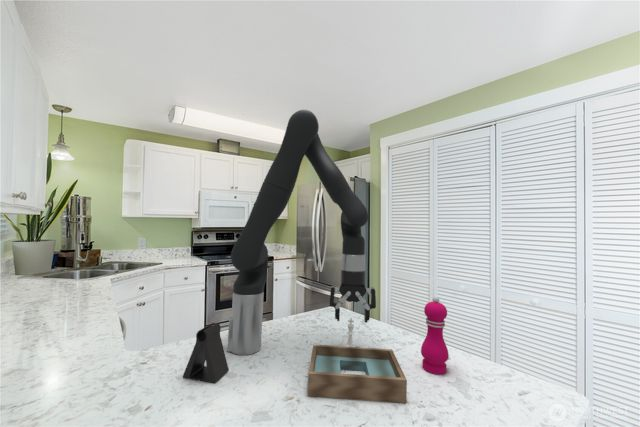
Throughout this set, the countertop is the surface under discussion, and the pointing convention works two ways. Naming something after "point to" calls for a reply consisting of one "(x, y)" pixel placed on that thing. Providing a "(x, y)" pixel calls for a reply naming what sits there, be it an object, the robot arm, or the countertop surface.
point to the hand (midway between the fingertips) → (352, 321)
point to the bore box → (376, 385)
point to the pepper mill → (435, 338)
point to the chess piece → (350, 333)
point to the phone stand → (207, 356)
